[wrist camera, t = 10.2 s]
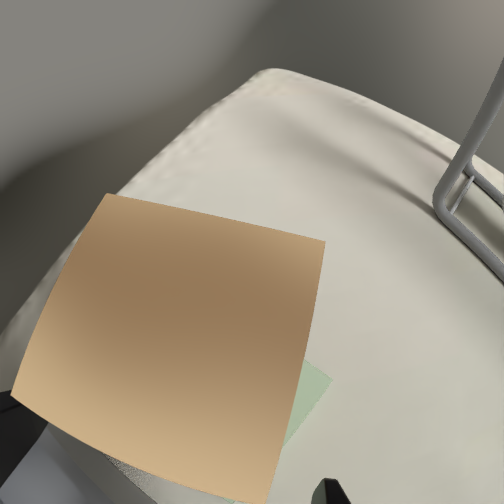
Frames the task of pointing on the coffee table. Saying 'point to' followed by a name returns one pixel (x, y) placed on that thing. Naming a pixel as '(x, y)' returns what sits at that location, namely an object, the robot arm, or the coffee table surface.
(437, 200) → the newton's cradle
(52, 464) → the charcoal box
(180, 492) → the coffee table surface
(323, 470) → the coffee table surface
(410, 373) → the coffee table surface
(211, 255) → the oak post
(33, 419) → the robot arm
